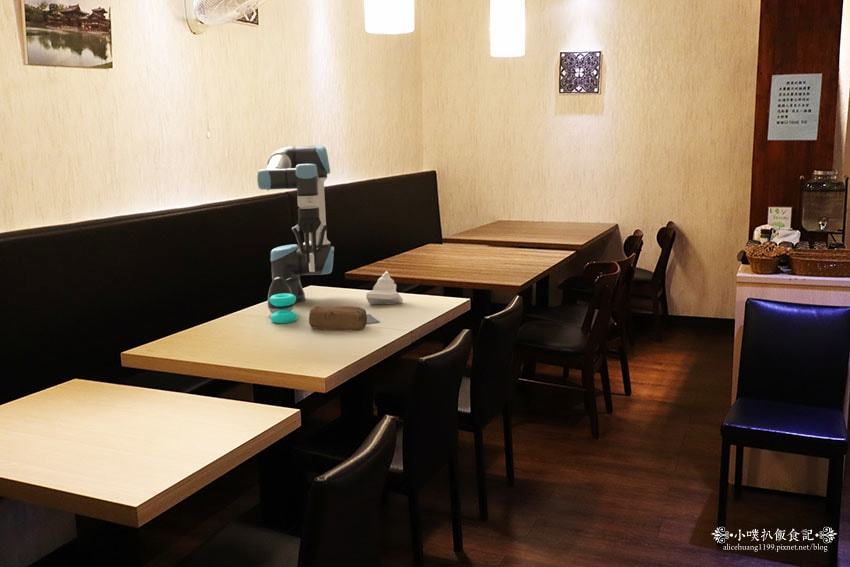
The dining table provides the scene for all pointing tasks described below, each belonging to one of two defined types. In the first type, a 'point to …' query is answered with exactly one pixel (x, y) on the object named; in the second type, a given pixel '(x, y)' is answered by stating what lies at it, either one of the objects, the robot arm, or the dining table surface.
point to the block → (338, 318)
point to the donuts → (283, 315)
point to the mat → (371, 319)
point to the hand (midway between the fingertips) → (311, 271)
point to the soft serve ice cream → (384, 291)
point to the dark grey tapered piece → (279, 287)
